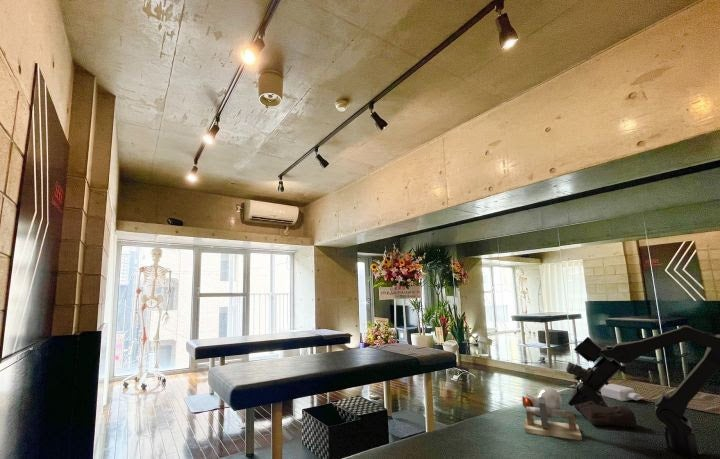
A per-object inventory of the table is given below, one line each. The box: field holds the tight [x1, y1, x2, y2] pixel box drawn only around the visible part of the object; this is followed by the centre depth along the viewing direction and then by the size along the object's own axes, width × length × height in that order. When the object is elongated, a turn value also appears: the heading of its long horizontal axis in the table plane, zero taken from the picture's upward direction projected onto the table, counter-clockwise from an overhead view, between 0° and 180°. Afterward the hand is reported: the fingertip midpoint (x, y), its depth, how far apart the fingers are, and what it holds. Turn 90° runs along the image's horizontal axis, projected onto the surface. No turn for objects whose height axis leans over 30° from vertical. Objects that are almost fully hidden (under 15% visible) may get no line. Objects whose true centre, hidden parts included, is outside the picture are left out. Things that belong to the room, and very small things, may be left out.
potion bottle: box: [522, 386, 563, 410], centre depth 141 cm, size 9×10×15 cm
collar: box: [539, 397, 548, 428], centre depth 122 cm, size 2×8×8 cm, turn 153°
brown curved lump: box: [573, 393, 637, 429], centre depth 128 cm, size 10×15×15 cm
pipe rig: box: [524, 407, 583, 441], centre depth 121 cm, size 17×10×7 cm, turn 64°
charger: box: [600, 383, 645, 402], centre depth 153 cm, size 5×9×15 cm
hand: (569, 404), depth 119 cm, fingers closed
